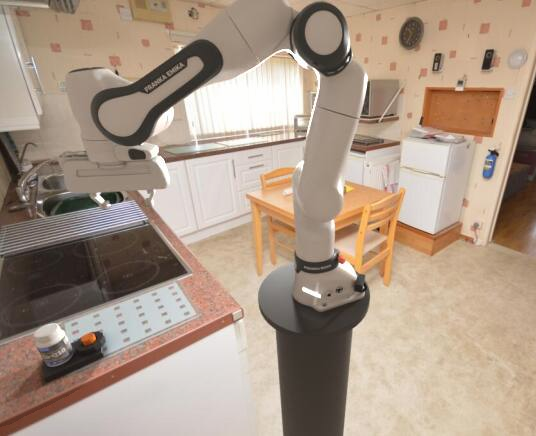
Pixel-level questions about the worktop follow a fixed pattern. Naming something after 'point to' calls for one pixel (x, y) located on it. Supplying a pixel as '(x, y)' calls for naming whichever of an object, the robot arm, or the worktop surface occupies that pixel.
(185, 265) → the worktop surface
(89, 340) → the tare button
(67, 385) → the worktop surface
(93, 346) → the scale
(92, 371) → the worktop surface
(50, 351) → the pill bottle
